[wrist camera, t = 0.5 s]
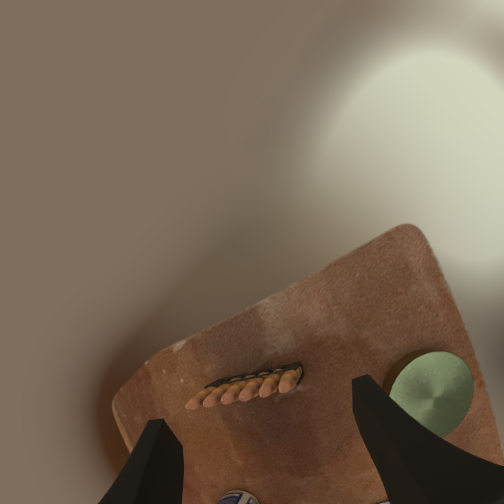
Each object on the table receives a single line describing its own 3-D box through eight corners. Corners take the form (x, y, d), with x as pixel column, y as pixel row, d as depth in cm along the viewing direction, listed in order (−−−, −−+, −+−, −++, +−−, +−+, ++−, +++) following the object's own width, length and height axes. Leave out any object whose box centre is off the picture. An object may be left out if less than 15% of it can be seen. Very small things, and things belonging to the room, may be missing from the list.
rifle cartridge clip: (220, 394, 38) (180, 417, 26) (216, 380, 38) (175, 399, 27) (304, 376, 36) (295, 398, 25) (300, 361, 37) (290, 377, 25)
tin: (461, 413, 30) (476, 423, 26) (385, 439, 32) (393, 453, 27) (451, 337, 33) (467, 338, 28) (374, 361, 35) (381, 366, 30)
